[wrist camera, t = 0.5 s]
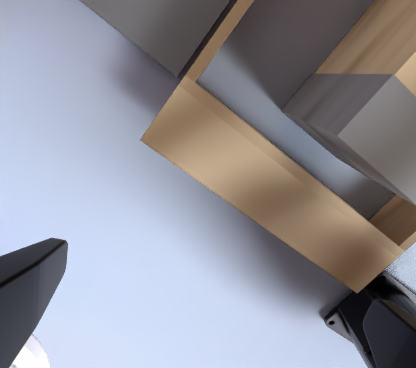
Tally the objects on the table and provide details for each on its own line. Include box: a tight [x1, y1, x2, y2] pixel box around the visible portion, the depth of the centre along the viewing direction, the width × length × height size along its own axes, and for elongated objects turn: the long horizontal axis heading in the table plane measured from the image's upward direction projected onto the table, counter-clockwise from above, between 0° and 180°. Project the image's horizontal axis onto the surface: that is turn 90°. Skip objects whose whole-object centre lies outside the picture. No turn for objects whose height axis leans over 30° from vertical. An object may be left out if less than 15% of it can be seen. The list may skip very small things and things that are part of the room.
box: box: [281, 0, 416, 206], centre depth 15 cm, size 5×9×8 cm, turn 142°
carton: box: [140, 0, 416, 293], centre depth 17 cm, size 17×21×4 cm
